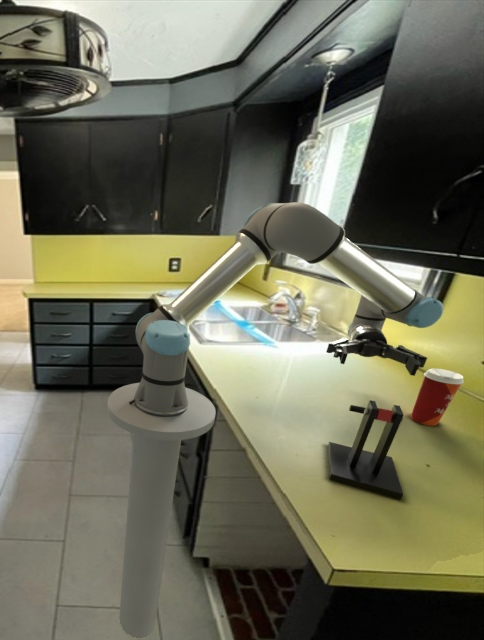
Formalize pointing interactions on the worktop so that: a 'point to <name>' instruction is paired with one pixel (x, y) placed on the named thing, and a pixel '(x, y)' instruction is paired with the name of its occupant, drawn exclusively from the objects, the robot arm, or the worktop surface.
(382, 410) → the lever
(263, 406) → the worktop surface
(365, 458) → the bracket
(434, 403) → the paper cup
